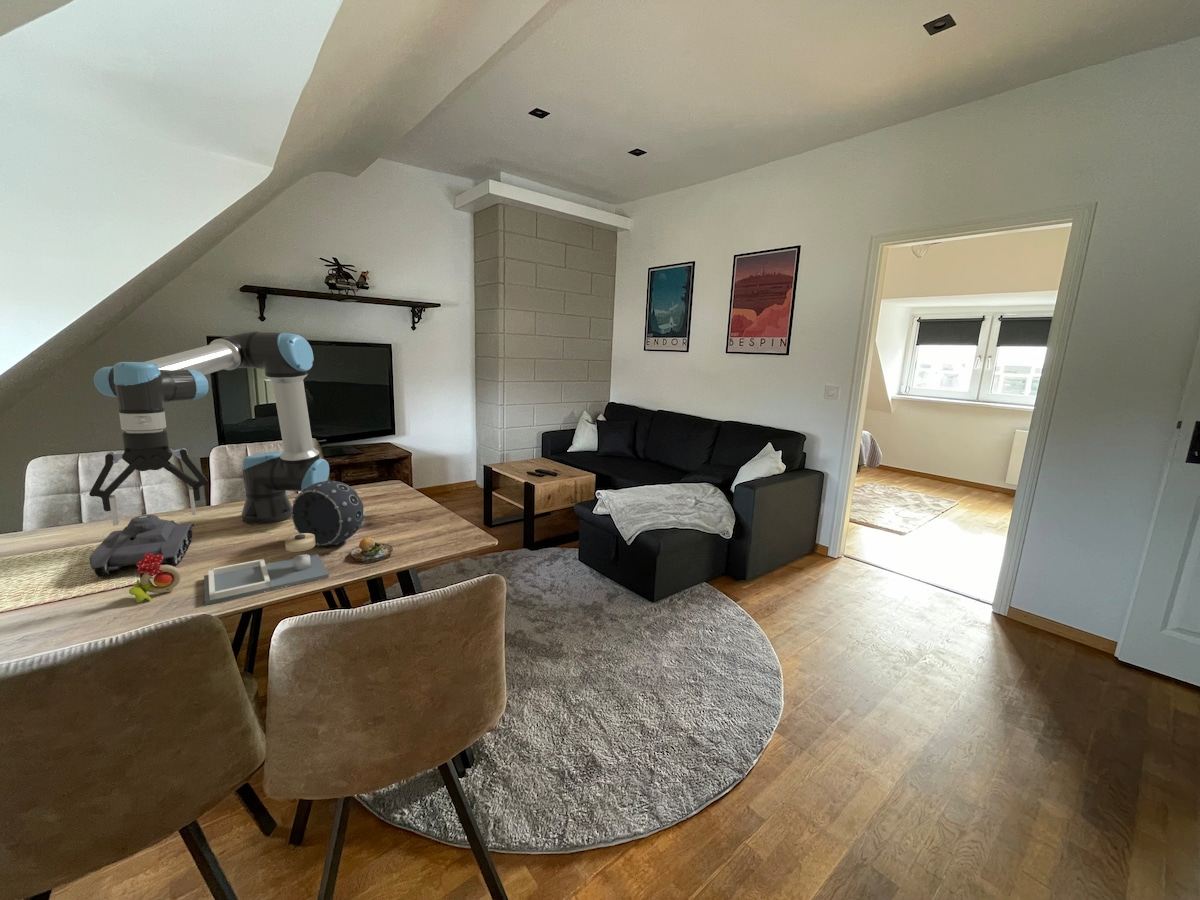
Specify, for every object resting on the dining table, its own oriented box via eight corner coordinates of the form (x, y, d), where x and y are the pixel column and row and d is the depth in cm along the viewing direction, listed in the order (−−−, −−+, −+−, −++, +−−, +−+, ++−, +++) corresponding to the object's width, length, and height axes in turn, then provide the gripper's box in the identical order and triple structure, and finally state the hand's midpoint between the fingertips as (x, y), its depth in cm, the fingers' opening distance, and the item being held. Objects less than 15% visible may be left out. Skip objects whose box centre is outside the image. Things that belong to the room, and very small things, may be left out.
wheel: (283, 545, 132) (282, 534, 131) (313, 539, 136) (312, 529, 135) (287, 553, 126) (286, 542, 126) (317, 548, 131) (316, 537, 130)
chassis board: (204, 579, 125) (202, 565, 125) (317, 556, 142) (316, 543, 141) (205, 605, 113) (203, 589, 113) (328, 577, 130) (327, 563, 129)
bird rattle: (168, 595, 121) (120, 593, 114) (186, 552, 122) (139, 548, 115) (172, 604, 117) (123, 603, 110) (191, 560, 118) (143, 556, 111)
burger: (398, 557, 145) (397, 534, 143) (356, 568, 137) (355, 543, 135) (384, 544, 153) (383, 522, 152) (344, 554, 145) (342, 530, 144)
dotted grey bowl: (346, 553, 145) (342, 490, 141) (289, 545, 148) (284, 483, 144) (369, 540, 155) (366, 481, 151) (316, 533, 159) (311, 474, 155)
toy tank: (88, 585, 120) (79, 528, 117) (118, 548, 141) (111, 500, 138) (181, 571, 130) (174, 518, 127) (196, 539, 150) (190, 493, 147)
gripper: (60, 436, 99) (77, 533, 103) (214, 429, 115) (223, 513, 119) (67, 431, 105) (82, 523, 109) (213, 425, 121) (222, 505, 125)
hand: (156, 518), depth 114 cm, fingers open, 13 cm apart
